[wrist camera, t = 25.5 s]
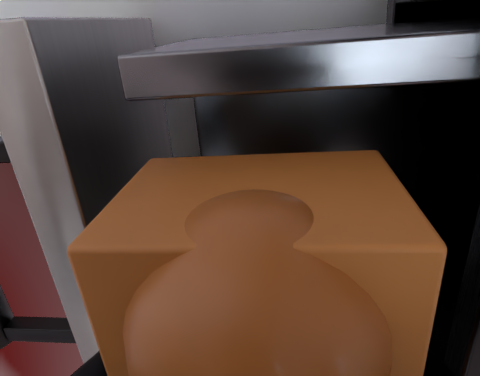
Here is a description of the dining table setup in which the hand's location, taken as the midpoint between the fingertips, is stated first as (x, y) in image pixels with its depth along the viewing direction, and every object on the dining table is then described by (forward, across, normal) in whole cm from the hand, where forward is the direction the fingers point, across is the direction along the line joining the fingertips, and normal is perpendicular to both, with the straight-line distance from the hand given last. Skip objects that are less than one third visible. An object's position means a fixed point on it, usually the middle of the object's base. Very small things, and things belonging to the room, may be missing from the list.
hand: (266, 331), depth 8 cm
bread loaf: (+1, 0, 0) cm, 1 cm away
